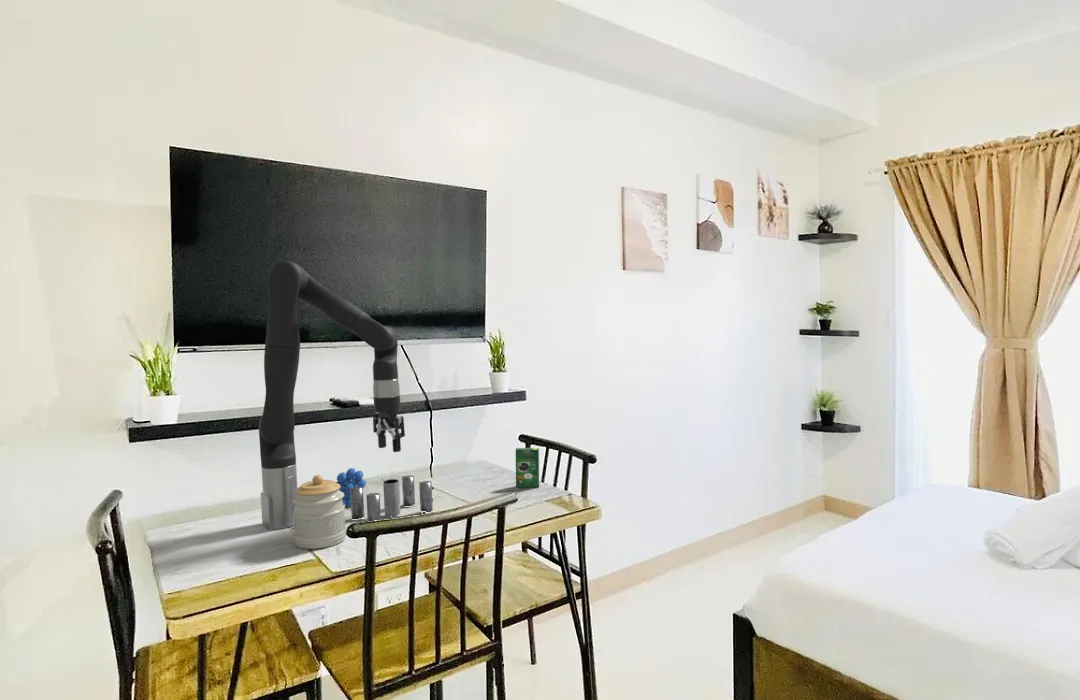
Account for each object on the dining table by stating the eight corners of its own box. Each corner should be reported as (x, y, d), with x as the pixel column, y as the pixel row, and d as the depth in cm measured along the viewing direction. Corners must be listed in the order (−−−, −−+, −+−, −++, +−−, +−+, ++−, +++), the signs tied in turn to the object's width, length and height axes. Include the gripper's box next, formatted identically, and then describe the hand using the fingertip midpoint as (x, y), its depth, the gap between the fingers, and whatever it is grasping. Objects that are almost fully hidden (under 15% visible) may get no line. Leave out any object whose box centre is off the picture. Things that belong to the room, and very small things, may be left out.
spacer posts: (371, 529, 178) (370, 497, 178) (349, 518, 188) (348, 488, 188) (435, 512, 192) (433, 482, 192) (411, 503, 202) (410, 474, 202)
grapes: (360, 500, 207) (358, 463, 207) (370, 504, 202) (368, 466, 202) (325, 508, 200) (323, 470, 199) (334, 513, 195) (332, 473, 194)
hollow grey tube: (388, 519, 187) (386, 484, 186) (382, 515, 191) (380, 481, 190) (403, 515, 190) (401, 481, 189) (396, 512, 193) (395, 478, 193)
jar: (351, 543, 168) (348, 476, 167) (299, 553, 162) (295, 484, 161) (340, 529, 179) (337, 466, 178) (291, 538, 173) (287, 474, 172)
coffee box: (540, 485, 218) (539, 447, 217) (540, 487, 215) (538, 448, 214) (516, 485, 218) (515, 447, 218) (515, 488, 215) (514, 449, 215)
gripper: (363, 394, 191) (366, 448, 192) (387, 398, 180) (390, 455, 181) (386, 391, 196) (389, 444, 197) (410, 395, 185) (413, 450, 186)
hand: (389, 449), depth 189 cm, fingers open, 8 cm apart
